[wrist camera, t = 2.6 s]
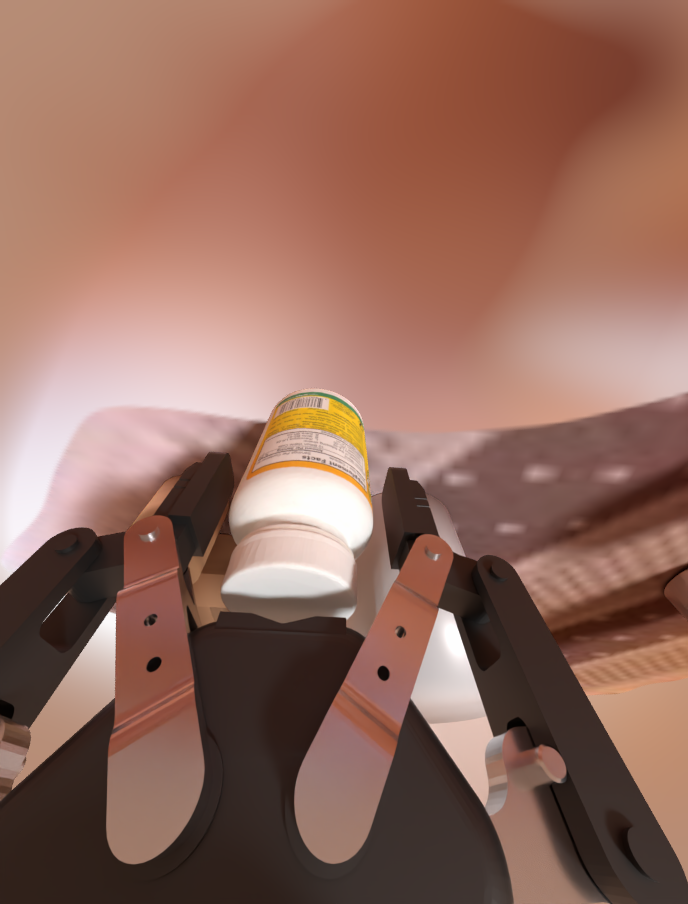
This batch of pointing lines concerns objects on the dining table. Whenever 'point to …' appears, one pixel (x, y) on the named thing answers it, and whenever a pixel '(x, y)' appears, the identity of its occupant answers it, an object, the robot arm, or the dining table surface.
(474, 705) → the white rounded capsule
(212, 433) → the dining table surface
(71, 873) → the robot arm
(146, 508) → the short peg
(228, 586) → the supplement bottle
